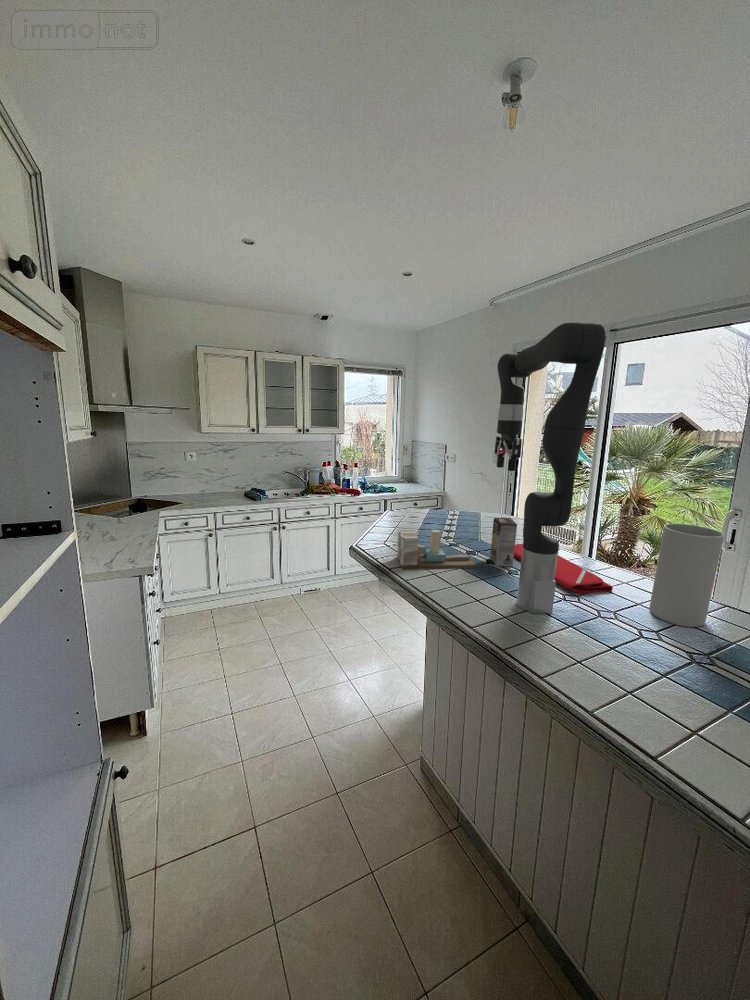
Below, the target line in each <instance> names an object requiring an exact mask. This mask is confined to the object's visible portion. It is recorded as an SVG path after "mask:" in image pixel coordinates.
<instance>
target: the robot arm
mask: <svg viewBox="0 0 750 1000" xmlns="http://www.w3.org/2000/svg"><path fill="white" fill-rule="evenodd" d="M606 336H607V335H606V329H605V326H604V325H603V324H601V323H598V322H582V321H579V322H578V321H567V322H563V323H561V324H559V325H558V326H556V327H555V328H553V329H552V330H551V331H550V332H549V333H548V334H547V335H546V336H544V337H543V338H542V339H541V340H540V341H538V342H537V343H536V344H533V345H531V346H528V347H527V348H524V349H522V350H521V351H520V352H518V353H504V354H502V355H501V356H500V357H499V359H498V362H497V368H496V369H497V375H498V379H499V385H500V386H499V387H500V402H499V408H498V414H497V424H496V425H497V426H496V427H497V428H496V433H497V434H499V435H500V436H499V435H498V436H496V437H495V442H494V443H495V445H494V453H493V454H495V455H496V456H497V458H496V468H502V469H503V468H504V465H505V455H506V454H507V456H508V464H507V471H509V472H514V471H516V464H517V460H518V459H520V458H521V456H522V445H523V444H522V442H523V440H522V438H517V435H521V434H522V429H523V417H524V399H525V398H524V397H525V388H524V387H523V386H522V385H519V384H516V383H514V381H513V380H512V379H513V378H516V379H517V378H518V379H524V378H528V377H530V376H531V375H532V374H533V373H535V372H538V371H540V370H543V369H545V368H546V367H547V366H548V365H549V363H559V364H565V365H566V364H567V365H569V364H570V365H571V364H572V365H575V369H574V373H573V375H572V378H571V382H569V383H570V384H569V385H568V387H567V389H566V390H565V391H564V393H563V394H562V396H560V398H559V399H558V400H557V402H556V403H555V404H554V406H553V407H552V408H551V409H550V411H549V413H548V414H547V415H546V419H545V422H544V428H543V434H542V442H541V444H542V448H543V450H544V453H545V455H546V458H547V459H548V462H549V463H550V466H551V468H552V471H553V472H554V474H553V475H554V490H553V492H552V491H551V492H550V491H549V492H548V491H542V492H540V491H533V492H530V493H528V495H527V496H526V498H525V500H524V507H523V508H524V510H523V525H522V526H523V527H522V528H523V529H522V544H523V549H522V558H521V561H520V570H519V579H518V588H517V598H516V605H517V606H518V607H519V608H521V610H524V611H527V612H529V613H531V614H533V615H535V614H553V609H554V602H555V594H556V586H557V583H556V581H555V574H556V566H557V558H558V555H559V548H560V543H559V540H557V539H556V538H554V537H551V536H549V535H547V534H543V532H542V527H563V526H564V525H566V524H567V523H568V522H569V519H570V516H571V511H572V505H573V497H574V496H573V495H574V487H575V477H576V470H577V466H578V465H577V464H578V460H579V456H580V451H581V445H582V442H583V437H584V431H585V428H586V422H587V414H588V410H589V405H590V400H591V395H592V393H593V387H594V385H595V381H596V378H597V374H598V371H599V368H600V364H601V361H602V357H603V354H604V351H605V345H606V339H607V338H606Z"/></svg>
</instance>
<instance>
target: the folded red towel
mask: <svg viewBox="0 0 750 1000" xmlns="http://www.w3.org/2000/svg"><path fill="white" fill-rule="evenodd" d="M522 549H523V543H522V544H515V548H514V558H515V559H517V560H519V561H520V562H521V558H522ZM555 581H556V584H558V585H560V586H562V587H563V588H565V589H568V590H570V591H572V592H574V593H577V594H581V595H582V594H592V593H593V594H594V593H607V592H608V593H611V592H612V591H613V589H614V587H613V586H612V585H611V584H609V583H607V582H605V581H604V580H603V579H602V578H601V577H600V576H599V575H596V574H595V573H592V572H590V571H588V570H587V569H584V568H582V567H581V566H580V565H577V564H576V563H574V562H572V561H570V560H567V559H566V558H564V557H562V556H561V555H559V554H558V558H557V566H556V574H555Z"/></svg>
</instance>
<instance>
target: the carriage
mask: <svg viewBox="0 0 750 1000" xmlns="http://www.w3.org/2000/svg"><path fill="white" fill-rule="evenodd" d="M441 532H442V531H440V530H439V529H431V530H430V539H429V540H430V541H429V542H430V543H429V544H430V545H429V548H428V549H427V546H426V545H425V544H419V545H420V546H421V554H423V556H425V557H426V562H435V561H445V559H446V554H447V553H445V551H444V550H443V549H442V548H441Z"/></svg>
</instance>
